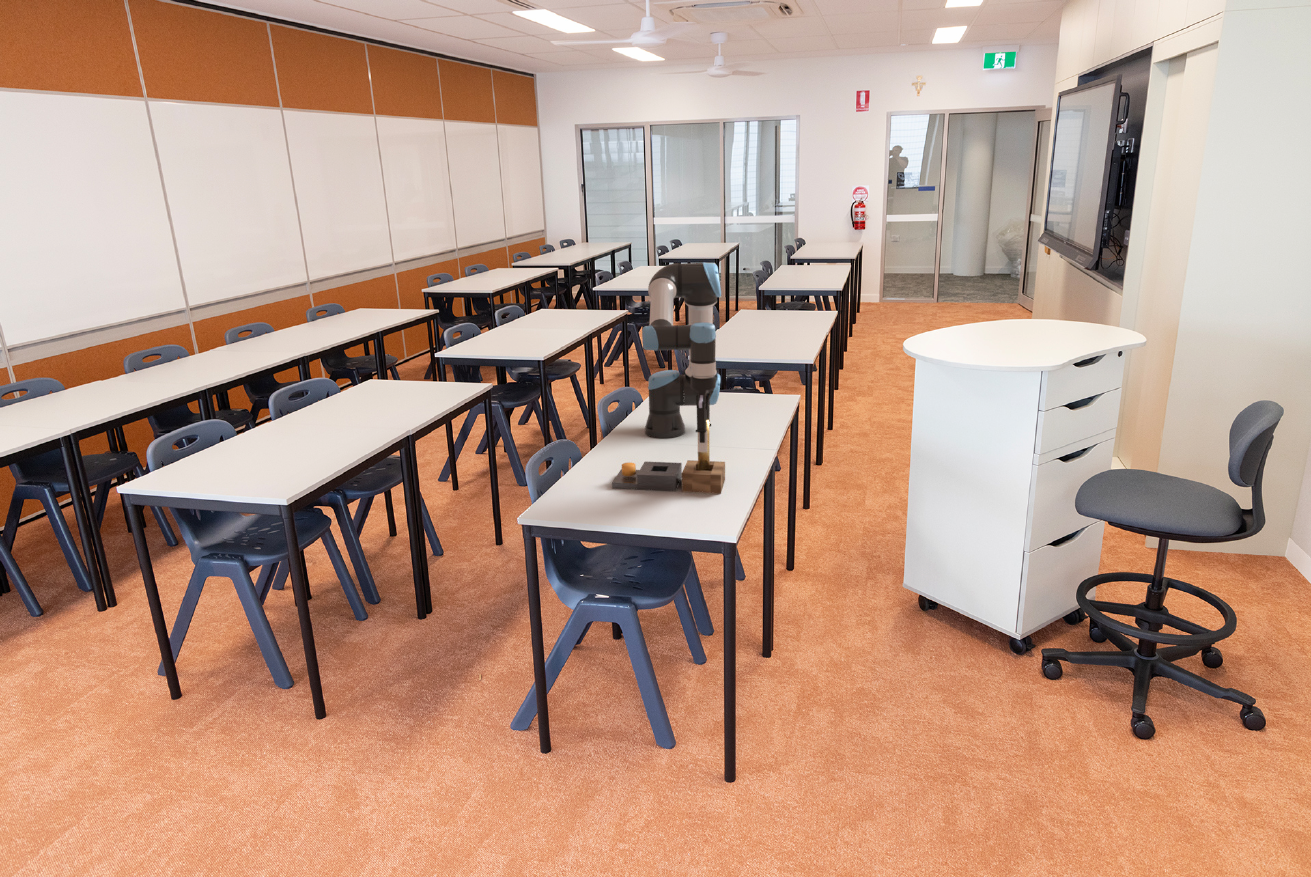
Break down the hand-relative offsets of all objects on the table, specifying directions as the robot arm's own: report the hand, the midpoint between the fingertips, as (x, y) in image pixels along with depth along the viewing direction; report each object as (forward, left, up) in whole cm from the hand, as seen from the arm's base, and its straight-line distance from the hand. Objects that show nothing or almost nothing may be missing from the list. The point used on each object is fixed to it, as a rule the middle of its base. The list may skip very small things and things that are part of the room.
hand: (703, 449), depth 245 cm
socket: (0, -18, -12) cm, 22 cm away
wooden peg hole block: (0, 0, -12) cm, 12 cm away
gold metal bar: (0, 0, -7) cm, 7 cm away
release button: (0, -24, -9) cm, 26 cm away
